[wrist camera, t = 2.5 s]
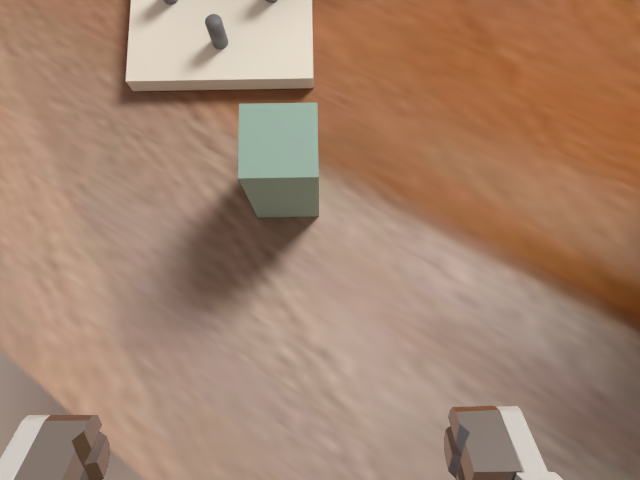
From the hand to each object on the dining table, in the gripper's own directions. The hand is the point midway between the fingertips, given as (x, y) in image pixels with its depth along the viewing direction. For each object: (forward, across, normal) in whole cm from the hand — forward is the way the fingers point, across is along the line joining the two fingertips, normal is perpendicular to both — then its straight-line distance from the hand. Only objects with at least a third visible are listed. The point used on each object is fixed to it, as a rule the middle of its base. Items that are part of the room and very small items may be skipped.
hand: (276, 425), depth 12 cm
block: (+26, +1, +7) cm, 27 cm away
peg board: (+36, +6, -4) cm, 37 cm away
